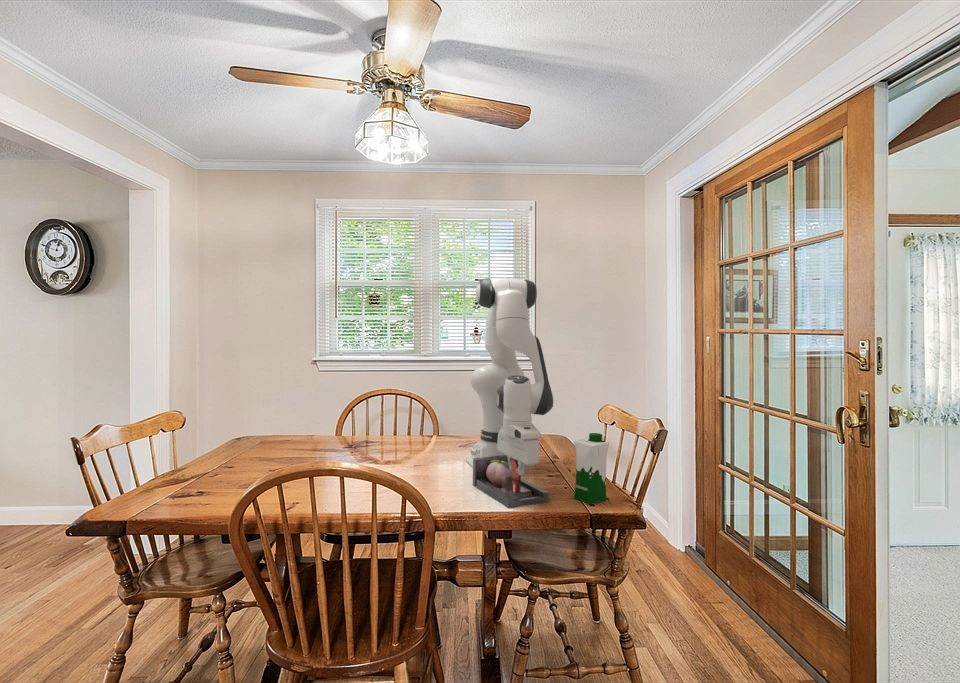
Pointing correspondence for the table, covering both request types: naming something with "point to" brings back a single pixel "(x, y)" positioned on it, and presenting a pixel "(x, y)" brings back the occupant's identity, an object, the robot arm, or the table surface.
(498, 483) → the decorative fruit
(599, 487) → the milk carton
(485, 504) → the table surface
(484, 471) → the press base
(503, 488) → the handle
